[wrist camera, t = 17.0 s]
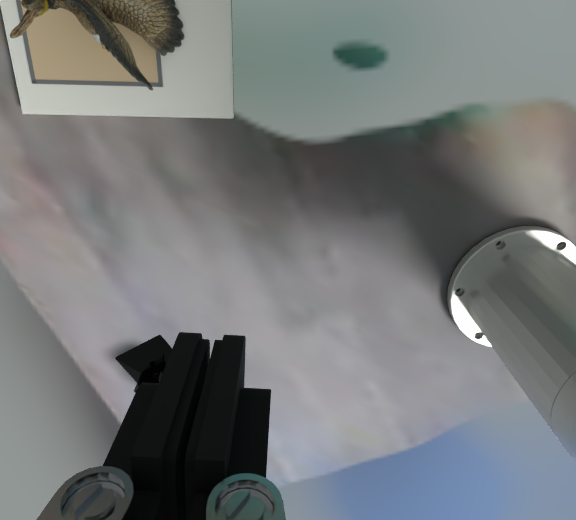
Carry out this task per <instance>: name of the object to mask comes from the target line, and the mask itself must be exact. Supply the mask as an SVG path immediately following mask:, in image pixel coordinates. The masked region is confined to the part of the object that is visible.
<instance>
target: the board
mask: <svg viewBox="0 0 576 520" xmlns="http://www.w3.org/2000/svg"><path fill="white" fill-rule="evenodd" d="M21 1H22V0H0V7H1V11H2V16H3V21H4V26H5V31H6V35H7V40H8V45H9V50H10V55H11V59H12V64H13V69H14V74H15V79H16V84H17V88H18V93H19V98H20V103H21V108H22V112H23V114H50V115H94V116H139V117H183V118H228V119H233V118H234V94H233V93H234V91H233V47H232V46H233V45H232V4H231V3H232V2H231V1H232V0H174V1H175V4H176V5H175V7H176V8H177V9H178V10H179V13H180V14H179V15H177V17H178V18H179V19H180V20H181V21H182V22H183V25H184V26H183V28H182V32H183V33H184V39H183V40H181V43H182V45H181V46H180V47H175V50H174V52H173V53H169V52H168V53H167V55H166V56H162V55H161V54H159V53H158V52H157V51H156V50H155V49H154V48H153V47H151V46H150V45H149V44H148V43H147V42H146V41H145V40H144V39H143V38H142V37H141V36H139V35H138V34H136V33H134V32H133V31H131V30H130V29H128V28H126V27H124V26H123V25H120V24H117V23H114V22H112V23H113V24H114V25H115V26H116V27H117V29H118V30H119V31H120V32H121V34H122V35H123V36H124V38H125V39H126V40H127V42H128V43H129V45H130V48H131V50H132V53H133V56H134V58H135V61H136V65H137V67H138V69H139V70H140V72H141V73H142V75H143V76H144V77H145V78H146V79H147V81H148V82H149V83H150V84H151V86H152V88H153V90H150V89H149V88H148V87H146V86H145V85H144V84H142V83H140V82H139V81H138V80H136V79H135V78H134V77H133V76H132V75H131V74H130V73H129V72H128V71H127V70H126V69H125V68H124V67H123V66H122V65H121V64H120V63H119V62H118V61H117V59H116V58H115V57H113V55H112V53H111V52H108V51H107V50H106V49H103V48H102V45H101V44H99V43H98V42H97V41H96V40H95V38H94V37H93V36H92V35H91V34H90V33H89V32H88V31H87V30H86V29H85V28H84V27H83V26H82V25H81V23H80V22H79V21H78V19H77V17H76V16H75V15H74V14H73V13H72V12H70V11H68V10H66V9H63V8H58V9H56V10H54V9H49V10H48V11H47V12H45V13H44V14H42V15H41V16H38V17H36V18H34V20H33V22H32V23H31V25H29V27H28V28H27V29H26V31H25V33H24V34H23V35H21V36H19V37H17V38H11V37H10V33H11V31H12V30H13V29H14V28H15V27H16V26H18V24H19V23H20V21H21V19H22V18H23V16H24V14H25V12H26V10H27V9H26V8H24V7H23V6H22V4H21Z"/></svg>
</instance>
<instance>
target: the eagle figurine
mask: <svg viewBox="0 0 576 520" xmlns="http://www.w3.org/2000/svg"><path fill="white" fill-rule="evenodd" d="M21 4H22V6H23V7H24V8H26V9H27V10H26V12H25V14H24V16H23V18H22V19H21V21H20V23H19V24H18V26H16V27H15V28H14V29H13V30H12V31H11V33H10V37H11V38H17V37H19V36H21V35H23V34H24V33H25V31H26V29H27V28H28V27H29V25H31V23H32V22H33V20H34V18H36V17H38V16H41V15H42V14H44V13H45V12H47V11H48V10H49V9H54V10H56V9H58V8H63V9H66V10H68V11H70V12H72V13H73V14H74V15H75V16H76V17H77V19H78V21H79V22H80V23H81V25H82V26H83V27H84V28H85V29H86V30H87V31H88V32H89V33H90V34H91V35H92V36H93V37H94V38H95V40H96V41H97V42H98V43H99V44H101V45H102V48H103V49H106V50H107V51H108V52H111V53H112V55H113V57H115V58H116V59H117V61H118V62H119V63H120V64H121V65H122V66H123V67H124V68H125V69H126V70H127V71H128V72H129V73H130V74H131V75H132V76H133V77H134V78H135V79H136V80H138V81H139V82H140V83H142V84H144V85H145V86H146V87H148V88H149V89H150V90H153V88H152V86H151V84H150V83H149V82H148V81H147V79H146V78H145V77H144V76H143V75H142V73H141V72H140V70H139V69H138V67H137V65H136V61H135V58H134V56H133V53H132V50H131V48H130V45H129V43H128V42H127V40H126V39H125V38H124V36H123V35H122V34H121V32H120V31H119V30H118V29H117V27H116V26H115V25H114V24H113V23H112V22H114V23H117V24H120V25H123V26H124V27H126V28H128V29H130V30H131V31H133V32H134V33H136V34H138V35H139V36H141V37H142V38H143V39H144V40H145V41H146V42H147V43H148V44H149V45H150V46H151V47H153V48H154V49H155V50H156V51H157V52H158V53H159V54H161V55H162V56H166V55H167V53H168V52H169V53H173V52H174V50H175V47H180V46H181V45H182V43H181V40H183V39H184V33H183V32H182V28H183V26H184V25H183V22H182V21H181V20H180V19H179V18H178V17H177V15H179V14H180V13H179V10H178V9H177V8H176V7H175V5H176V4H175V1H174V0H22V1H21Z"/></svg>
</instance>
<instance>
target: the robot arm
mask: <svg viewBox="0 0 576 520" xmlns="http://www.w3.org/2000/svg"><path fill="white" fill-rule="evenodd" d="M497 242H498V243H497ZM447 303H448V308H449V312H450V314H451V316H452V319H453V321H454V322H455V324H456V325H457V327H458V328H459V330H460V331H461V332H462V333H463V334H464V335H465V336H466V337H468V338H469V339H471V340H472V341H474V342H476V343H479V344H482V345H484V346H489V347H493V349H494V350H495V352H496V353H497V354H498V356H499V357H500V359H501V360H502V361H503V363H504V364H505V366H506V367H507V368H508V370H509V371H510V373H511V374H512V375H513V377H514V378H515V380H516V381H517V382H518V384H519V385H520V387H521V388H522V389H523V391H524V392H525V394H526V395H527V396H528V398H529V399H530V401H531V402H532V403H533V405H534V406H535V408H536V409H537V410H538V412H539V413H540V415H541V416H542V417H543V419H544V420H545V422H546V423H547V425H548V426H549V427H550V429H551V430H552V432H553V433H554V434H555V436H556V437H557V438H558V439H559V441H560V442H561V444H562V445H563V446H564V448H565V449H566V450H567V452H568V453H569V454H570V455H571V457H572V458H573V459H574V460H575V461H576V246H575V245H574V244H573V243H572V242H571V241H570V240H569V239H567V238H566V237H564V236H563V235H562V234H560V233H558V232H556V231H553V230H551V229H548V228H544V227H539V226H520V227H514V228H509V229H506V230H503V231H500V232H497V233H495V234H493V235H491V236H489V237H487V238H485V239H484V240H482V241H481V242H480V243H478V244H477V245H476V246H474V247H473V248H472V249H471V250H470V251H469V252H468V253H467V254H466V255H465V256H464V257H463V258H462V260H461V261H460V262H459V264H458V265H457V267H456V268H455V270H454V272H453V275H452V277H451V279H450V283H449V287H448V293H447ZM244 373H245V336H237V335H224V337H223V340H215V342H214V346H213V350H212V354H211V358H210V342H209V340H207V339H202V334H201V333H184V332H180V333H179V334H178V336H177V339H176V341H175V344H174V346H173V349H172V351H171V354H170V356H169V359H168V361H167V364H166V367H165V369H164V372H163V374H162V377H161V379H160V382H159V383H144V382H143V383H141V384H140V386H139V387H138V389H137V391H136V394H135V396H134V398H133V400H132V402H131V405H130V407H129V409H128V411H127V413H126V416H125V418H124V420H123V422H122V424H121V427H120V429H119V431H118V434H117V436H116V438H115V440H114V442H113V444H112V447H111V449H110V451H109V453H108V455H107V458H106V460H105V462H104V464H103V466H99V467H94V468H89V469H86V470H84V471H81V472H79V473H77V474H76V475H74V476H72V477H71V478H70V479H68V480H67V481H66V482H65V483H64V484H63V485H62V486H61V487H60V488H59V489H58V490H57V492H56V493H55V495H54V496H53V497H52V499H51V500H50V501H49V503H48V504H47V506H46V507H45V508H44V510H43V511H42V513H41V514H40V516H39V517H38V518H37V520H286V518H285V512H284V505H283V500H282V497H281V494H280V492H279V490H278V489H277V487H276V486H275V485H274V484H273V483H272V482H271V481H269V480H268V479H266V466H267V449H268V432H269V415H270V398H271V389H255V388H244Z"/></svg>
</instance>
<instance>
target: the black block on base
mask: <svg viewBox="0 0 576 520" xmlns="http://www.w3.org/2000/svg"><path fill="white" fill-rule="evenodd" d="M171 351H172V348H171V347H170V346H169V344H168V343H167V342H166V341H165V340H164V339H163V337H162V336H161V335H158V336H156V337H154V338H152V339H150V340H148V341H146V342H144V343H142V344H141V345H139V346H137V347H135V348H133V349H131V350H129V351H127V352H125V353H123V354H121V355H119V356H117V357H116V360H117V361H118V362H119V363H120V364H121V365H122V367H123V368H124V369H125V370H126V371H127V372H128V373H129V374H130V375H131V376H132V377H133V379H134V380H135V381H136V382H137V385H136V387H135V390H134V392H135V393H136V391H137V389H138V387H139V386H140V384H141V383H143V382H144V383H159V382H160V379H161V377H162V374H163V372H164V369H165V367H166V364H167V361H168V359H169V356H170V354H171Z"/></svg>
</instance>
